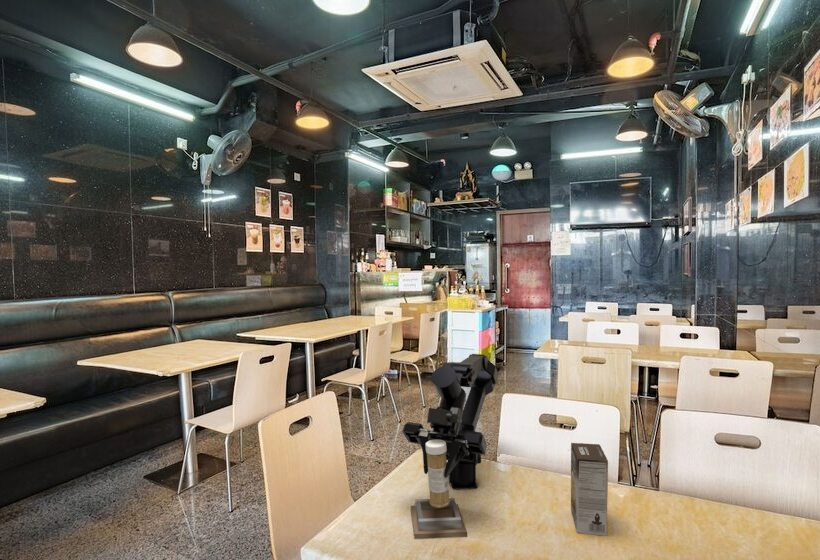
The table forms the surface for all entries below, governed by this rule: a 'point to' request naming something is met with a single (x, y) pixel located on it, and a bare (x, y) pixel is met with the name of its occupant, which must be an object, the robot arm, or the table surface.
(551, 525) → the table surface
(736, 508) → the table surface
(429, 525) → the socket board
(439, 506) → the sprinkles bottle
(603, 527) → the coffee box
